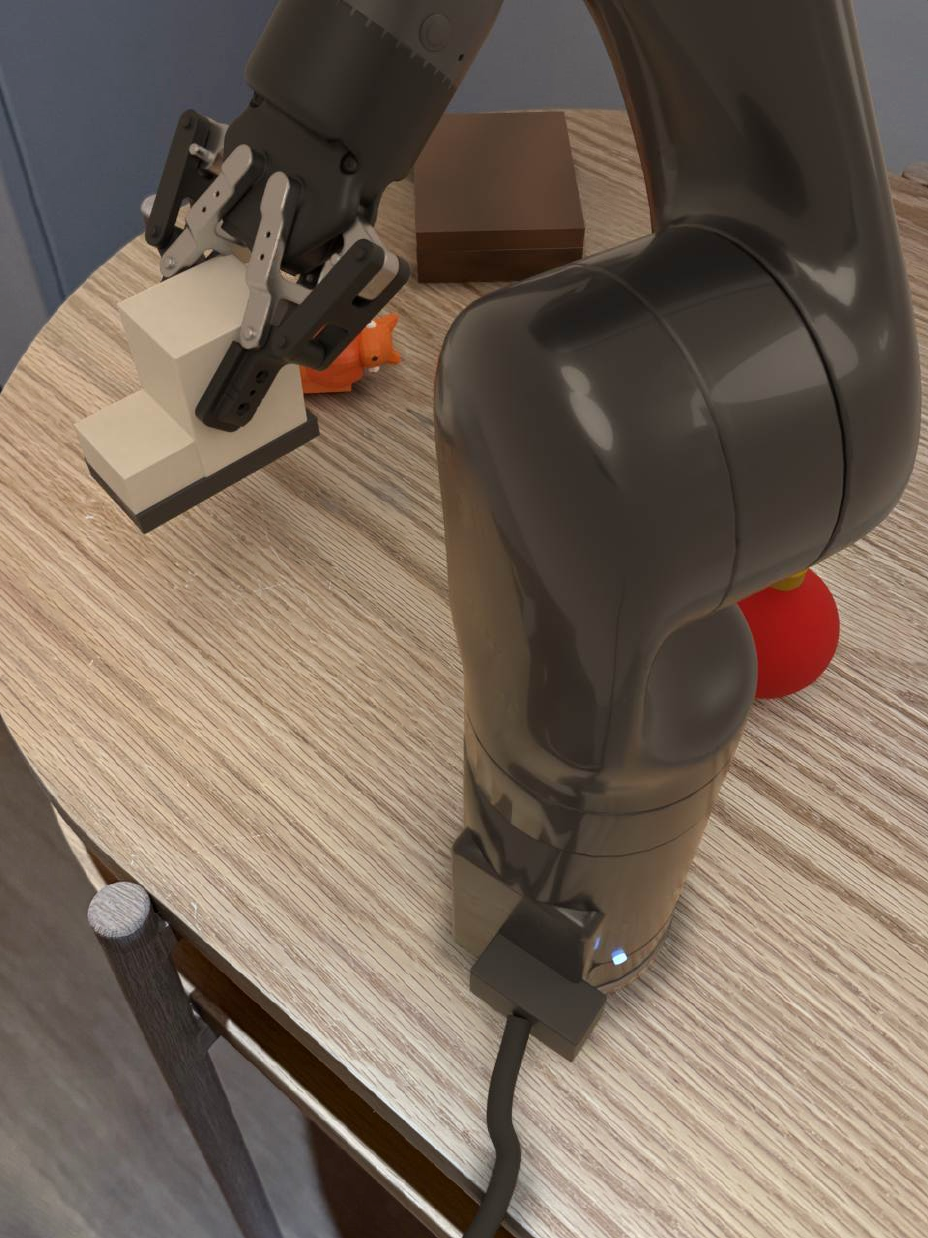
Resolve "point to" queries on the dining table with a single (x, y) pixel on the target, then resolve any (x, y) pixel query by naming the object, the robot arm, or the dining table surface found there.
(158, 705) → the dining table surface
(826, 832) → the dining table surface
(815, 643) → the christmas ornament
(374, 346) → the orange toy figure
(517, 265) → the brown lidded case
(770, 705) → the dining table surface
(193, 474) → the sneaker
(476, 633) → the robot arm
